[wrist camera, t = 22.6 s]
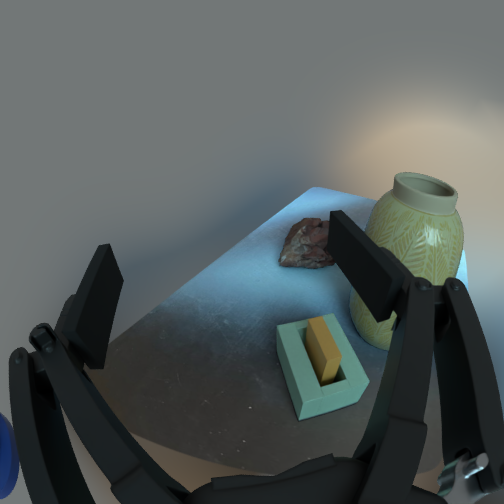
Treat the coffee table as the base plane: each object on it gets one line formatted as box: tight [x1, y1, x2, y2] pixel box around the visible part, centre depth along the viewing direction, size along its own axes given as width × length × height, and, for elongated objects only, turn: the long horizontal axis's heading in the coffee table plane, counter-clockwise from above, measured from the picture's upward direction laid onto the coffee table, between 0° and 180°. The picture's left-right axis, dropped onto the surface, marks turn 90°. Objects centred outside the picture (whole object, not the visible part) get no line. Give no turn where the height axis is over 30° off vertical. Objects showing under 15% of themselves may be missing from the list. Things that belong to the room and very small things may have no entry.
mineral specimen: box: [278, 218, 336, 269], centre depth 60 cm, size 12×13×15 cm
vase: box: [349, 172, 464, 350], centre depth 37 cm, size 17×17×27 cm
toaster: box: [276, 313, 370, 421], centre depth 36 cm, size 14×9×7 cm, turn 11°
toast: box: [305, 316, 342, 388], centre depth 34 cm, size 7×2×10 cm, turn 11°
